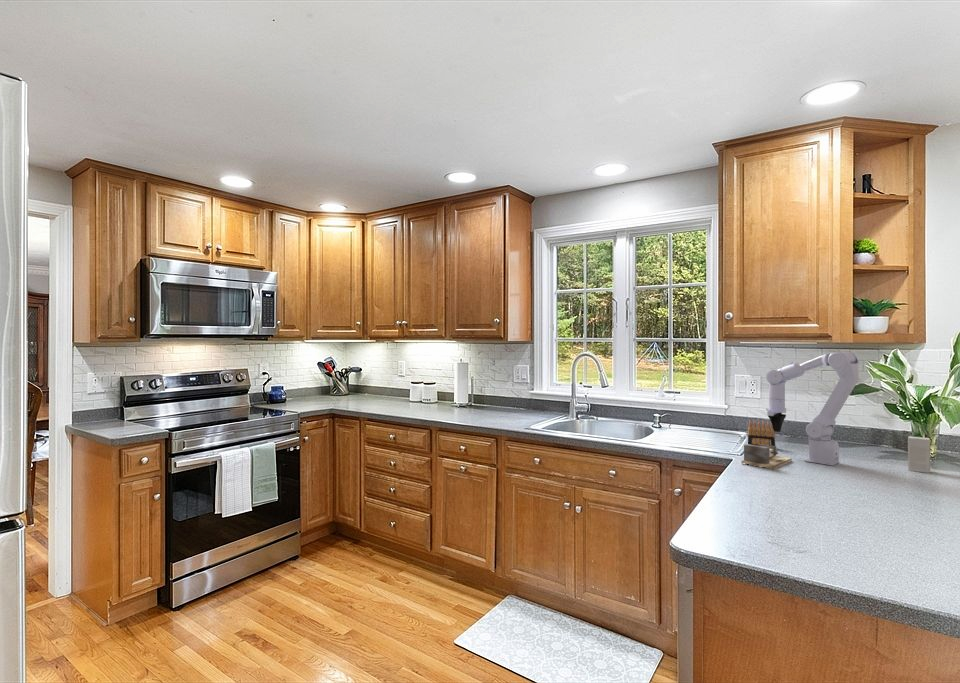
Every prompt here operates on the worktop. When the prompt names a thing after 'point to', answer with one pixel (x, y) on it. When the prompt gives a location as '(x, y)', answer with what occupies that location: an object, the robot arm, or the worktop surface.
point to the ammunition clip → (761, 434)
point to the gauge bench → (771, 462)
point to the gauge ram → (771, 450)
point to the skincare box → (919, 454)
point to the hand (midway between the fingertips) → (777, 431)
